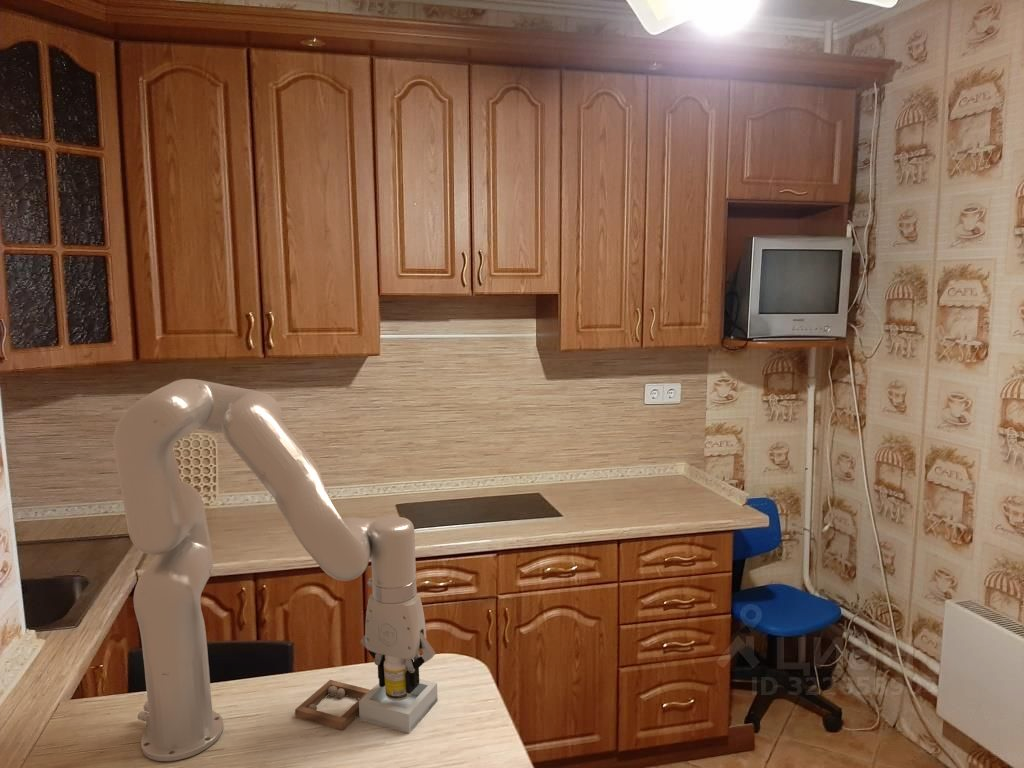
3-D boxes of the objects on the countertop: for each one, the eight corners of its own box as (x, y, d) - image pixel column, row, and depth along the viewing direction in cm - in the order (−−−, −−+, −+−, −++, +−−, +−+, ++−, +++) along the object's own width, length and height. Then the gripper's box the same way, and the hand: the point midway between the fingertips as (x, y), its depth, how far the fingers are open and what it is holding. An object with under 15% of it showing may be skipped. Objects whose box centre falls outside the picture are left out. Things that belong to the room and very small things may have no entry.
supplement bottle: (400, 682, 129) (398, 639, 128) (418, 692, 126) (415, 648, 125) (380, 695, 126) (377, 651, 124) (397, 704, 123) (394, 659, 121)
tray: (295, 717, 125) (294, 707, 124) (330, 687, 134) (330, 678, 134) (342, 730, 121) (342, 720, 121) (375, 698, 130) (375, 689, 130)
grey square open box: (359, 720, 124) (358, 701, 123) (390, 689, 133) (389, 672, 132) (409, 733, 120) (408, 714, 119) (437, 700, 129) (437, 683, 129)
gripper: (341, 590, 123) (346, 687, 126) (427, 606, 116) (430, 708, 119) (365, 573, 130) (370, 666, 132) (448, 587, 123) (451, 684, 126)
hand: (398, 685), depth 126 cm, fingers closed on supplement bottle, 4 cm apart
